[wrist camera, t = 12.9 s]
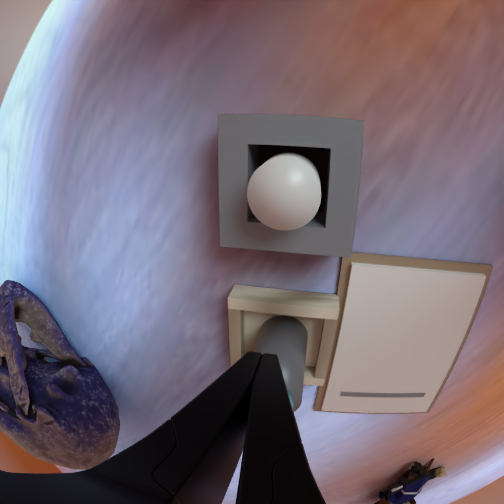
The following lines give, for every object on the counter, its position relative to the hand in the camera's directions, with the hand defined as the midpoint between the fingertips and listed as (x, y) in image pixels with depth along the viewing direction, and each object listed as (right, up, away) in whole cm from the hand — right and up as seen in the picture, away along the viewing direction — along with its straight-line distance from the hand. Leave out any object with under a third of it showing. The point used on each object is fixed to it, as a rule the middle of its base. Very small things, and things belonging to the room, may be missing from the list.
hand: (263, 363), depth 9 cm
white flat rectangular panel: (+11, -4, +12) cm, 17 cm away
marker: (+2, -3, +13) cm, 13 cm away
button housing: (+2, +8, +9) cm, 12 cm away
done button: (+2, +7, +7) cm, 10 cm away
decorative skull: (-21, -9, +22) cm, 31 cm away
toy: (+20, -27, +21) cm, 39 cm away
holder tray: (+2, -2, +14) cm, 14 cm away
